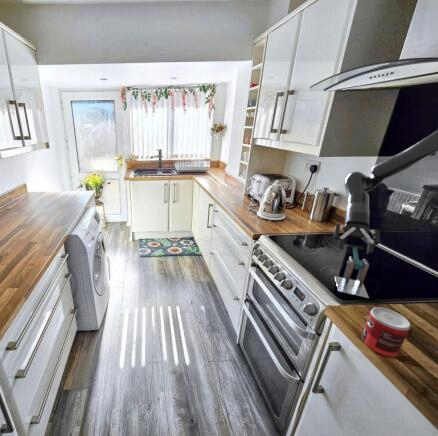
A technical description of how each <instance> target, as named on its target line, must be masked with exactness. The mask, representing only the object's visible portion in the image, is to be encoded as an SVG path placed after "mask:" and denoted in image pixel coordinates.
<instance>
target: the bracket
mask: <svg viewBox="0 0 438 436" xmlns="http://www.w3.org/2000/svg"><path fill="white" fill-rule="evenodd" d="M362 263H363V267H362V269H361V270H358V273H357V276H356V277H355V278H356V279H352V278H351V276H352V273H353V270H354V269H353V267H354V264H355V261H354V256H349V257H348V260H347V262H346V267H345V270H344V273H343V276H342V277H341V276H338V275H334V280H335V285H336V288H337V292H339V293H344V294H349V295H351V296H352V295H353V296H356V297H361V298H363V299H370V297H369V295H368V294H369V293H368V292H367V290H366V287H365V285H364V282H365V278H366V275H367V273H368V270H369V267H370V264H369V262H368V260H367V259H366V258H362Z"/></svg>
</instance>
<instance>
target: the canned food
mask: <svg viewBox="0 0 438 436" xmlns="http://www.w3.org/2000/svg"><path fill="white" fill-rule="evenodd" d="M410 329H411V322H410V321H409V319H408V318H407V317H405V316H404V315H402V314H400V313H398V312H397V311H395V310H392V309H389V308H385V307H381V306H378V307H377V306H376V307H373V308H372V309H370V312H369V315H368V318H367V321H366V323H365V326H364V329H363V331H362V334H361V340H362V342H363V344H365V345H366V346H367V347H368V348H369V349H370V350H372V351H374V354H376V355H377V356H380V357H383V358H387V359H390V358H391V357H397V356H398V354H399V352H400V350H401V348H402V346H403V343H404V342H405V339H406V338H407V335H408V334H409V331H410Z"/></svg>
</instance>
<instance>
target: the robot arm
mask: <svg viewBox="0 0 438 436" xmlns="http://www.w3.org/2000/svg"><path fill="white" fill-rule="evenodd" d="M437 152H438V129H437V130H435V131H434V132H432V133H431V134H429V135H428V136H426V137H425V138H422V139H421V140H420V141H418V142H416V143H415V144H413V145H411V146H409V147H407V148H406V149H404V150H402V151H400V152H398V153H396V154H395V155H393V156H391V157H389V158H387V159H385V160H383V161H381V162H378V163H377V164H375V165H373V166H372V167H371V168H370V170H371V171H370V172H371V174H370V175H369V176H367V174H365V173H362V172H360V171H353V172H351V173H349V174H347V176H346V177H345V179H344V189H345V193H346V197H347V200H346V209H345V216H344V225H341V224H339V223H337V224H336V225H335V227H334V231H333V237H332V238H333V239H334V240H337V241H338V245H337V247H338V248H339V250H341V251H342V250H344V247H345V239H346V238H347V237H350V238H353V239H354V238H355V239H359V240H360V239H361V240H362V241H363V242H364V243H366V244H367V245H366V246H367V247H366V254H367V255H370V254H372V253H373V252H374V248H375V246H378V245H379V244H380V243H381V233H380V232H381V231H380V229H379V228H375V229H370V215H371V212H370V195H369V193H368V192H369V191H371V190H373V189H374V188H376V187H378V186H379V185H381V184H382V183H383V182H384V181H386V180H388V179H390V178H393V177H394V176H397V175H399V174H401V173H404V172H406V171H407V170H409V169H411V168H412V167H414V166H415V165H417V164H418V163H420V162H421V161H423V160H424V159H426V158H427V157H429V156H431V155H433V154H435V153H437ZM341 231H344V233H343V234H342V235H339V233H340V232H341ZM369 233H370V234H371V236H372V237H373V239H372V238H371V236H370V235H369Z"/></svg>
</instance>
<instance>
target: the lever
mask: <svg viewBox="0 0 438 436" xmlns="http://www.w3.org/2000/svg"><path fill="white" fill-rule="evenodd" d="M345 248H346V249H351V250H352V254H353V259H354V261H355V264H354V267H353V270H354V269H355V270H358V271H359V270H361V269H362V267H363V263H362V260H363V259H362V260H360V258H359V253H358V251H363V250H364V247H363V246H359V245H355V244H346V247H345Z"/></svg>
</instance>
